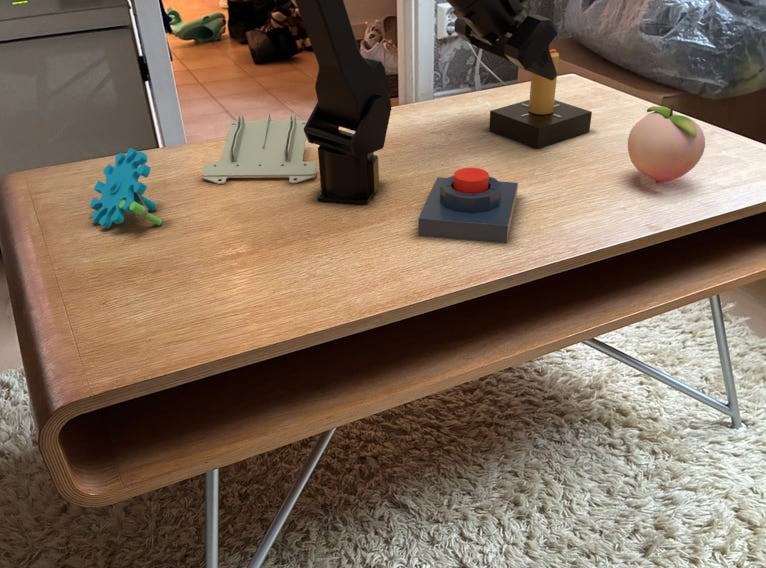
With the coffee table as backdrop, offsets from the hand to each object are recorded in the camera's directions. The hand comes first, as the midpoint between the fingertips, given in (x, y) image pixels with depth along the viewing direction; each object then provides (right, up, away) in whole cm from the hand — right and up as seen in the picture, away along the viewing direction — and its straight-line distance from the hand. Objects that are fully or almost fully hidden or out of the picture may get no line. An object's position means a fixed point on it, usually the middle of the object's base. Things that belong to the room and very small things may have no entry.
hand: (536, 69), depth 108 cm
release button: (-11, -21, -20) cm, 31 cm away
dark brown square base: (+1, -7, +6) cm, 9 cm away
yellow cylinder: (+1, -5, +4) cm, 6 cm away
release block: (-11, -24, -18) cm, 32 cm away
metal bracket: (-38, -14, -3) cm, 40 cm away
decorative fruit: (+13, -19, -10) cm, 25 cm away
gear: (-52, -25, -16) cm, 60 cm away
